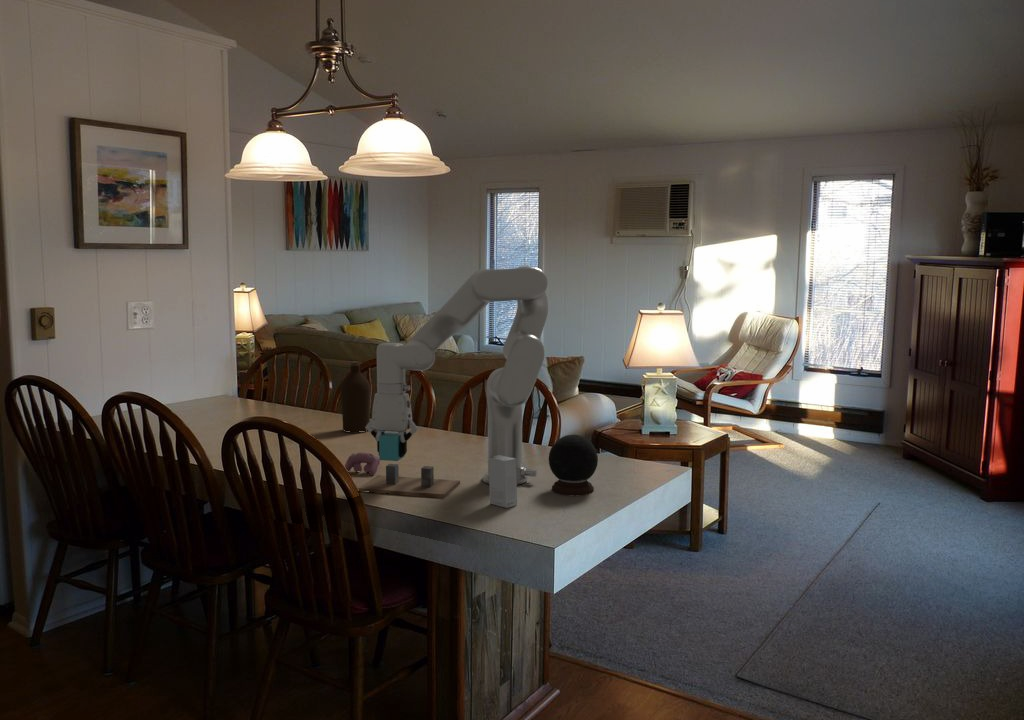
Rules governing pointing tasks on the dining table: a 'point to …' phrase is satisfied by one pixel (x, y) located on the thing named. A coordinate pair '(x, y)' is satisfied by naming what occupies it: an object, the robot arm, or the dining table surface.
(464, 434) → the dining table surface
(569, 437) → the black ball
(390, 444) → the turquoise toy cube
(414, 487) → the flat wooden board
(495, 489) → the skincare box
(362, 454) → the video game controller
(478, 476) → the dining table surface
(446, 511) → the dining table surface
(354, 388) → the olive oil
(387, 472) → the grey block
